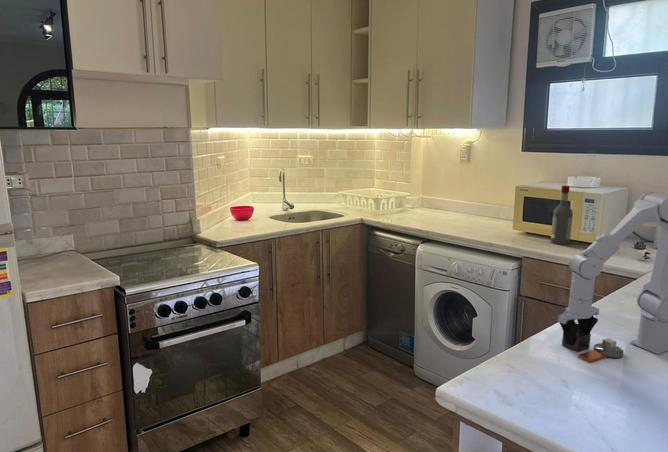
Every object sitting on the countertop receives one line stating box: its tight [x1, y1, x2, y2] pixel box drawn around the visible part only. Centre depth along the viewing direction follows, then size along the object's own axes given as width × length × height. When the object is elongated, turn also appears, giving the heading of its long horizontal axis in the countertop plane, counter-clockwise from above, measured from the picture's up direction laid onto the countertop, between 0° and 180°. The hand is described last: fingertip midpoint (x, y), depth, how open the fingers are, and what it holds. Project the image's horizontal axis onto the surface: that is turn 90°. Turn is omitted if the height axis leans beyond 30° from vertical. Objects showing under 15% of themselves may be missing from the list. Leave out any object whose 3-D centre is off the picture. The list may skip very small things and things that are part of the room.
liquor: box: [550, 185, 574, 246], centre depth 257 cm, size 9×9×30 cm
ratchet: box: [577, 337, 624, 364], centre depth 135 cm, size 14×7×4 cm, turn 117°
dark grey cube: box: [561, 329, 592, 353], centre depth 140 cm, size 5×5×4 cm
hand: (575, 342), depth 140 cm, fingers closed on dark grey cube, 5 cm apart
